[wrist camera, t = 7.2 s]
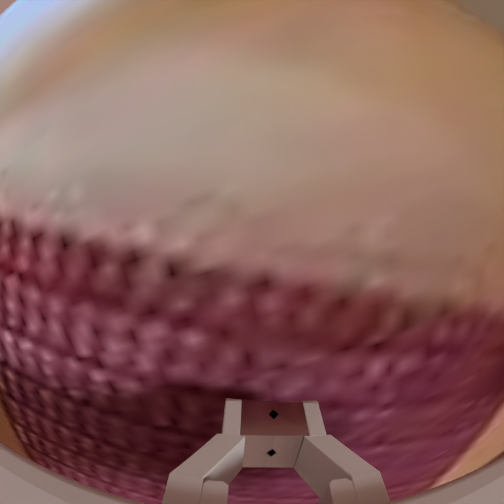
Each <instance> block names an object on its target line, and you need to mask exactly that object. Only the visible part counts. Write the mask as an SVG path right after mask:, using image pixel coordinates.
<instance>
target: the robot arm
mask: <svg viewBox="0 0 504 504" xmlns="http://www.w3.org/2000/svg"><path fill="white" fill-rule="evenodd" d="M242 467H282V468H291V467H294V469H295V470H296V472H297V473H298V474H299V475H300V476H301V477H302V478H303V480H304V481H305V482H306V483H307V484H308V485H309V486H310V488H311V489H312V490H313V491H314V492H315V493H316V494H317V495H318V496H319V497H320V498H321V499H320V500H319V502H318V503H317V504H504V455H503V456H502V457H500V458H498V459H496V460H494V461H493V462H491V463H489V464H487V465H485V466H483V467H481V468H479V469H477V470H475V471H473V472H471V473H468V474H466V475H464V476H462V477H459V478H457V479H455V480H452V481H450V482H448V483H445V484H442V485H440V486H437V487H435V488H432V489H429V490H426V491H423V492H420V493H417V494H414V495H411V496H408V497H404V498H401V499H397V500H393V501H390V499H389V496H388V493H387V491H386V488H385V485H384V482H383V479H382V477H381V474H380V472H379V471H378V470H377V469H375V468H374V467H372V466H371V465H370V464H368V463H367V462H366V461H364V460H363V459H362V458H360V457H359V456H358V455H356V454H355V453H354V452H352V451H351V450H350V449H348V448H347V447H346V446H344V445H343V444H342V443H341V442H339V441H338V440H337V439H336V438H334V437H333V436H332V435H326V431H325V427H324V424H323V420H322V416H321V412H320V408H319V405H318V402H317V401H258V400H244V399H242V400H240V399H230V398H226V401H225V409H224V418H223V426H222V434H216V435H215V436H214V437H213V438H211V439H210V440H209V441H208V442H207V443H206V444H205V445H203V446H202V447H201V448H200V449H199V450H198V451H196V452H195V453H194V454H193V455H192V456H190V457H189V458H188V459H187V460H186V461H184V462H183V463H182V464H181V465H179V466H178V467H177V468H176V469H174V470H173V471H172V472H171V473H170V474H169V478H168V482H167V486H166V490H165V494H164V498H163V502H162V504H228V485H229V484H230V483H231V481H232V480H233V479H234V478H235V477H236V475H237V474H238V473H239V472H240V471H241V469H242ZM0 504H146V503H142V502H138V501H134V500H131V499H127V498H124V497H120V496H117V495H114V494H110V493H107V492H104V491H101V490H98V489H96V488H93V487H90V486H87V485H85V484H82V483H80V482H77V481H75V480H72V479H70V478H67V477H65V476H63V475H60V474H58V473H56V472H54V471H52V470H50V469H48V468H45V467H43V466H41V465H39V464H37V463H36V462H34V461H32V460H30V459H28V458H26V457H24V456H23V455H21V454H19V453H17V452H16V451H14V450H12V449H10V448H9V447H7V446H6V445H4V444H2V443H1V442H0Z"/></svg>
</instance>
